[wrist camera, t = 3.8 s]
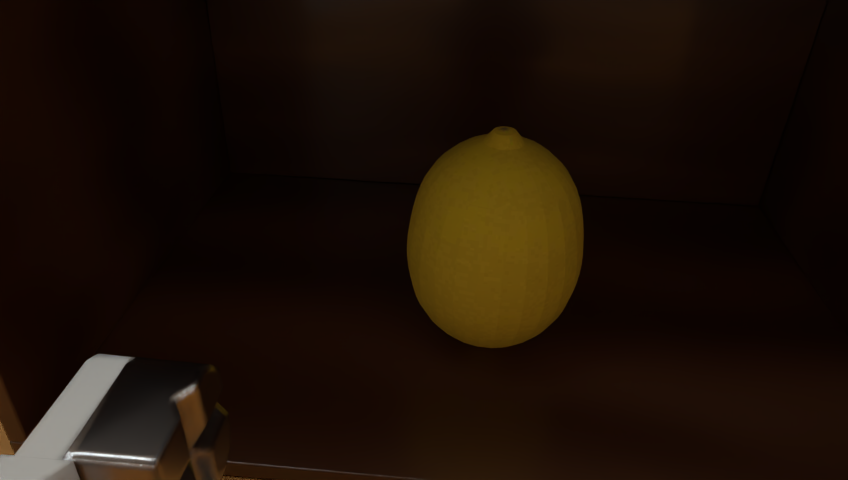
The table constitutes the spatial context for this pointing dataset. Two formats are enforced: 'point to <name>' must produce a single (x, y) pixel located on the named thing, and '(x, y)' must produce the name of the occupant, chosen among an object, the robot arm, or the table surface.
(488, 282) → the lemon
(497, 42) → the cupboard
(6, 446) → the table surface
